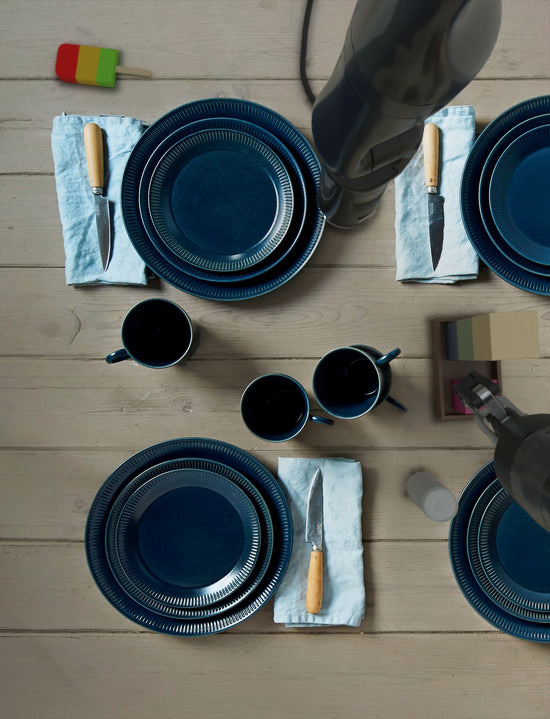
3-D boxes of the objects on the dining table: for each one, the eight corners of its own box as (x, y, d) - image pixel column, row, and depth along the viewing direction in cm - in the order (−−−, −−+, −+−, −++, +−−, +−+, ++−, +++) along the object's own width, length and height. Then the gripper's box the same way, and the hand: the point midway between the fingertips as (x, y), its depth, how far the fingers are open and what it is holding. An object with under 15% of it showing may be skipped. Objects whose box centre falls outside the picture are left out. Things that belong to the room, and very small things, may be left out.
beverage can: (400, 492, 87) (416, 513, 75) (414, 464, 87) (433, 481, 75) (427, 506, 87) (448, 530, 75) (442, 479, 87) (465, 498, 75)
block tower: (443, 323, 87) (489, 313, 66) (480, 321, 86) (537, 310, 66) (445, 360, 87) (491, 360, 66) (482, 358, 86) (540, 357, 66)
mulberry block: (450, 379, 87) (463, 381, 80) (480, 378, 86) (496, 379, 79) (451, 409, 87) (465, 413, 80) (482, 408, 86) (498, 412, 79)
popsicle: (62, 47, 89) (57, 40, 88) (155, 59, 89) (152, 52, 87) (57, 82, 90) (52, 76, 88) (150, 94, 89) (147, 88, 87)
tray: (430, 319, 87) (435, 318, 84) (490, 316, 87) (498, 314, 84) (436, 417, 87) (441, 419, 84) (496, 414, 87) (503, 416, 84)
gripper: (670, 519, 40) (569, 455, 56) (546, 368, 40) (479, 346, 56) (583, 581, 41) (508, 500, 57) (460, 433, 41) (419, 394, 57)
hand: (494, 425), depth 57 cm, fingers open, 8 cm apart
